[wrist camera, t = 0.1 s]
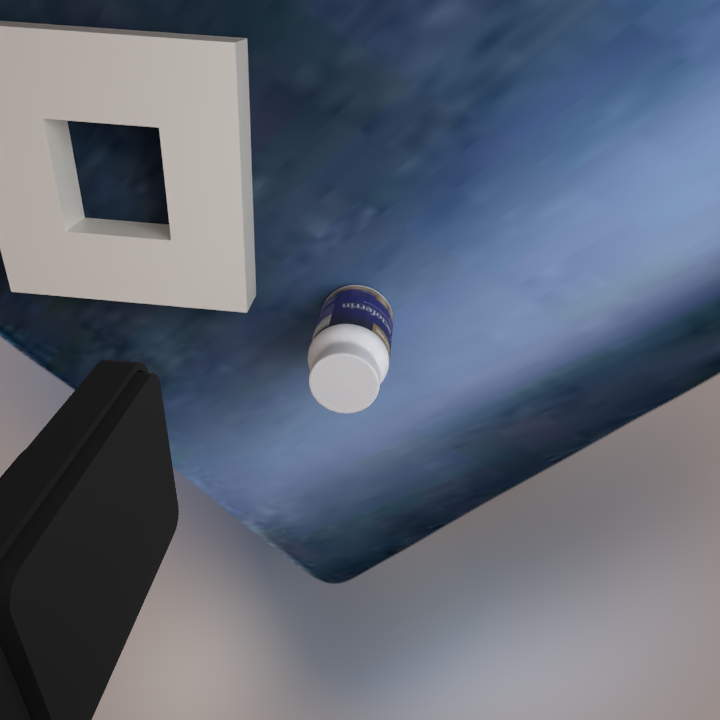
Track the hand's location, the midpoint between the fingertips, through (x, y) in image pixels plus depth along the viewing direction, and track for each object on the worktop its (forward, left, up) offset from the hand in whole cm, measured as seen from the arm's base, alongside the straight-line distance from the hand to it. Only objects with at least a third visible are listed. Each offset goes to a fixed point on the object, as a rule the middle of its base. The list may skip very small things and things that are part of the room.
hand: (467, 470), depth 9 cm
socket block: (+7, -21, -37) cm, 43 cm away
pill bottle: (+17, -4, -37) cm, 41 cm away
